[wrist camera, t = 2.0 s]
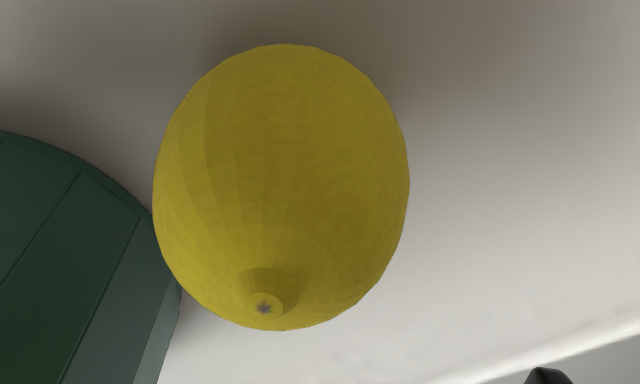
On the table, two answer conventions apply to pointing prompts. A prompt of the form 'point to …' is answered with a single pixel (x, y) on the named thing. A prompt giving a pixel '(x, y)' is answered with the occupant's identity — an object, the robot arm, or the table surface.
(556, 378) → the robot arm
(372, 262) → the lemon
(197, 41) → the table surface
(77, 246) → the pot
